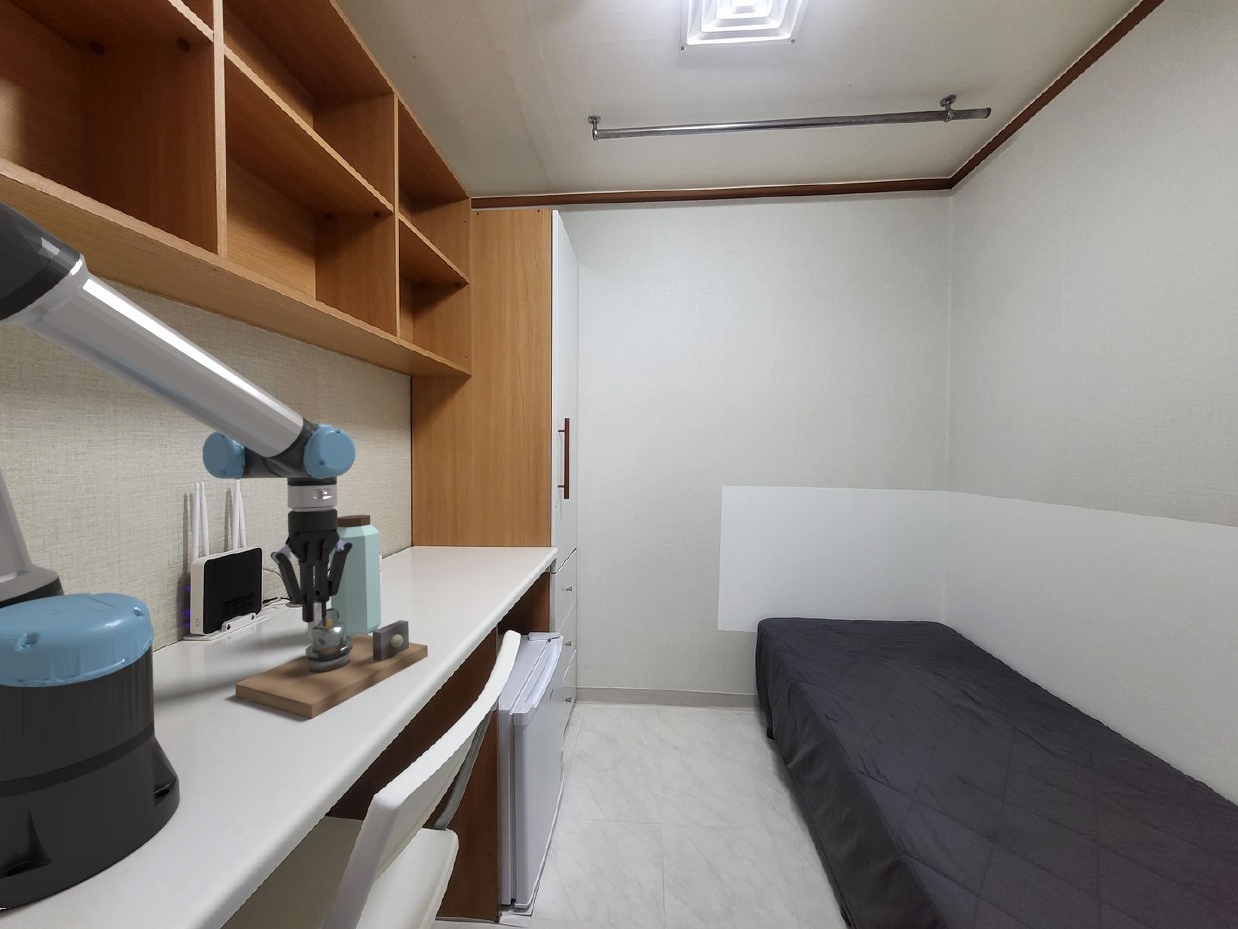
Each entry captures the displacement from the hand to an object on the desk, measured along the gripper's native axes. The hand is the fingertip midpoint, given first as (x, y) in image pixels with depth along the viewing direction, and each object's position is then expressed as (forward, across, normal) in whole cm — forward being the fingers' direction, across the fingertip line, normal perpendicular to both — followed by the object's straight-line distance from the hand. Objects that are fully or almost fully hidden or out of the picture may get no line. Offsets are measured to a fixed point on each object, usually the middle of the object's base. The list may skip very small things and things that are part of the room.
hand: (314, 638), depth 83 cm
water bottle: (+5, +13, +11) cm, 18 cm away
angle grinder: (+1, +2, -2) cm, 3 cm away
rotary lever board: (+5, 0, -8) cm, 9 cm away
